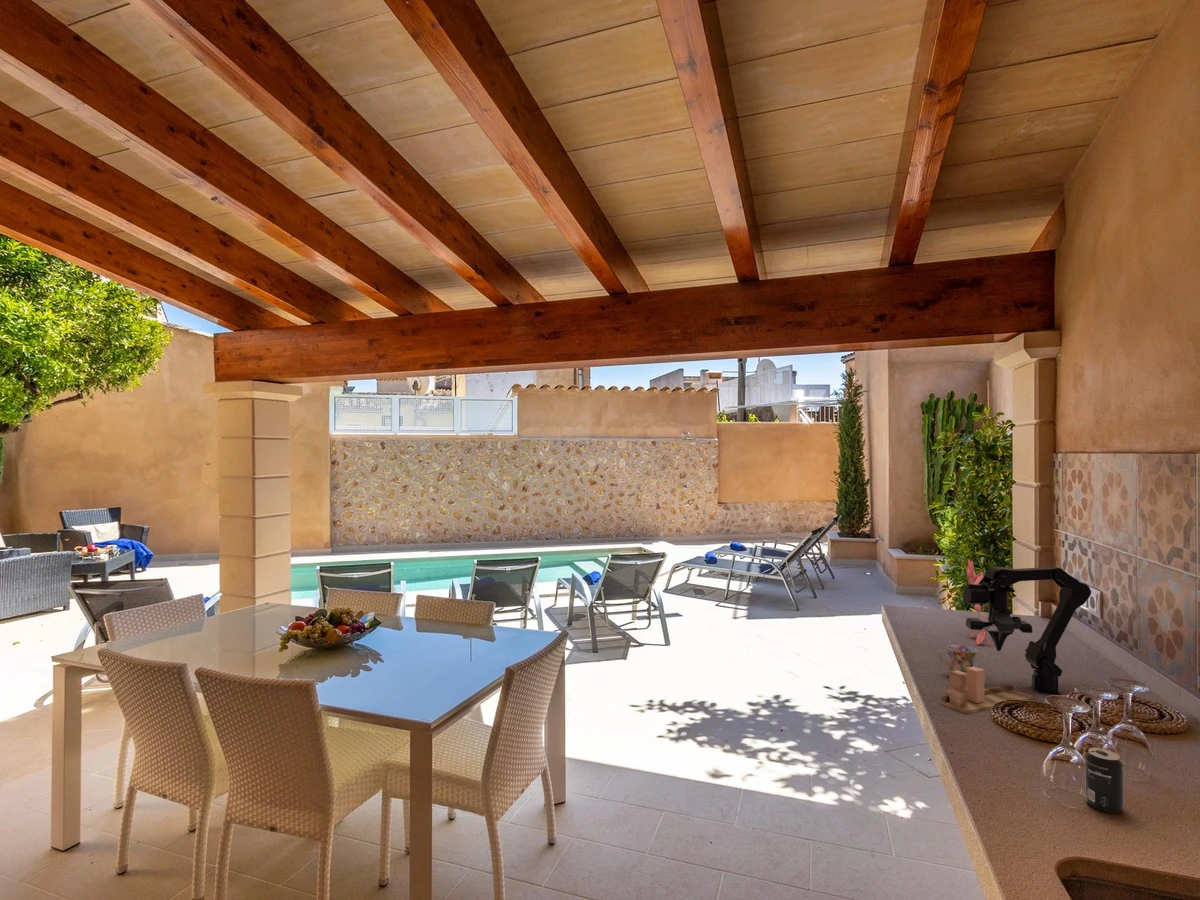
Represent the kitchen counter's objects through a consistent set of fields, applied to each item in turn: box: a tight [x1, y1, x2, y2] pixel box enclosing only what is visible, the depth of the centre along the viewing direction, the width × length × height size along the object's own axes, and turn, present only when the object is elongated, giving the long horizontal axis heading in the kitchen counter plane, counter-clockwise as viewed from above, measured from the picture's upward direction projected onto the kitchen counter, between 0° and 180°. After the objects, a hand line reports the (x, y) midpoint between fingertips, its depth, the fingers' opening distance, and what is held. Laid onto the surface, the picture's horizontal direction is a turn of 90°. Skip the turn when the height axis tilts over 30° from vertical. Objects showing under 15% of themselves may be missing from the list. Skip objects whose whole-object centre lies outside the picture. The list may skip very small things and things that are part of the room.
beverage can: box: [1084, 747, 1125, 814], centre depth 146 cm, size 7×7×12 cm
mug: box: [938, 644, 978, 677], centre depth 232 cm, size 12×9×11 cm
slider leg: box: [967, 666, 985, 703], centre depth 209 cm, size 4×6×10 cm, turn 22°
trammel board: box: [939, 670, 1036, 715], centre depth 209 cm, size 32×9×11 cm, turn 112°
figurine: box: [965, 558, 991, 646], centre depth 280 cm, size 15×26×35 cm, turn 158°
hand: (998, 650), depth 221 cm, fingers closed
